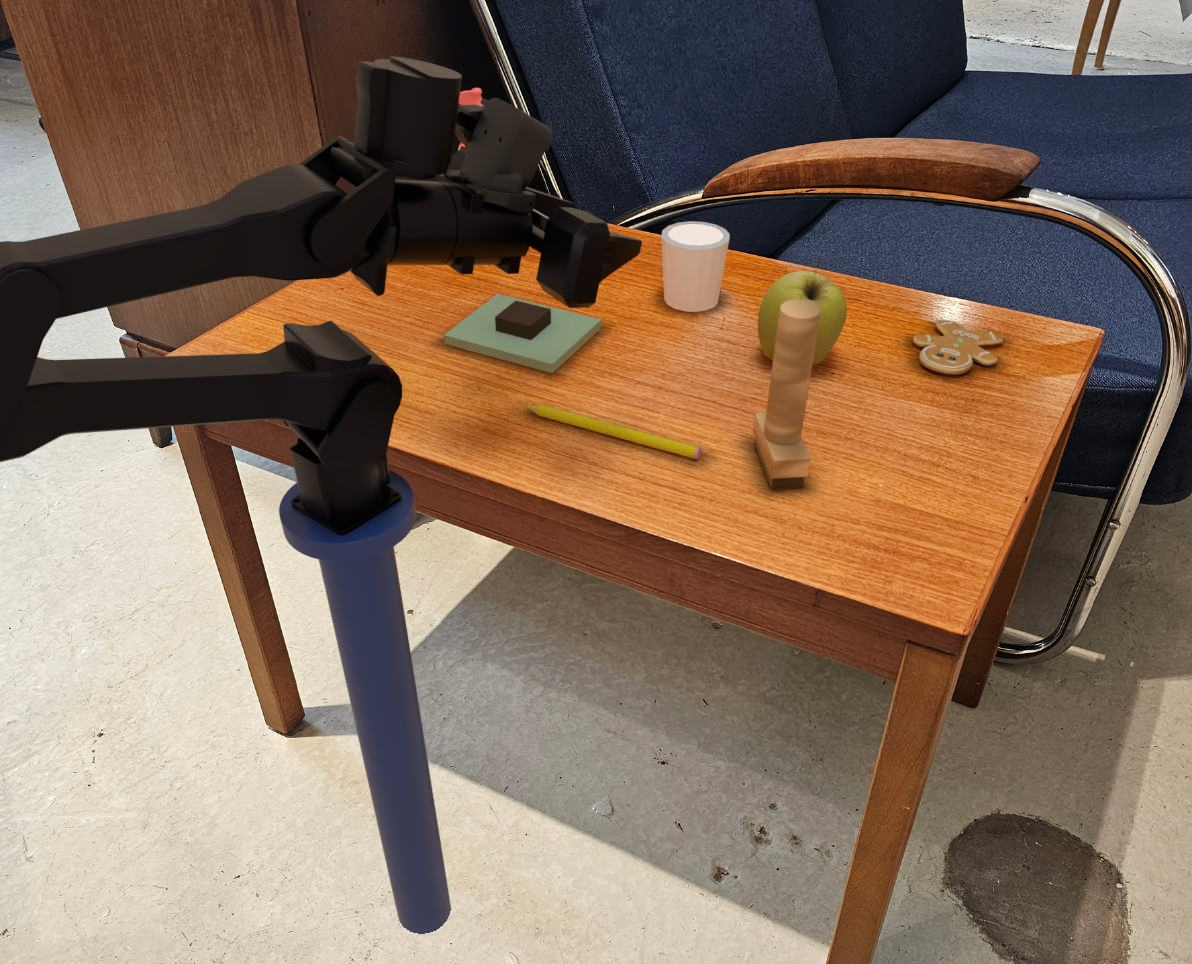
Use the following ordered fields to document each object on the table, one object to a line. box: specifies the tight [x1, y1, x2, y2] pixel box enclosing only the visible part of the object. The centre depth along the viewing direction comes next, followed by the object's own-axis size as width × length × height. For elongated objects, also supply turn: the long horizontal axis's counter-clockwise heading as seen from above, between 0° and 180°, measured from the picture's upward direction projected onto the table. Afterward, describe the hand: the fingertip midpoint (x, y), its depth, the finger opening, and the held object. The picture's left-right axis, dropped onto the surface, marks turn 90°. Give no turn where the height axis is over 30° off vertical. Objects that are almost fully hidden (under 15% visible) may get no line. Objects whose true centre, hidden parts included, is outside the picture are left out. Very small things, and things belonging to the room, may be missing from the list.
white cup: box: [660, 220, 731, 313], centre depth 107 cm, size 7×7×7 cm
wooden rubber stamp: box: [752, 300, 821, 490], centre depth 82 cm, size 3×7×14 cm, turn 6°
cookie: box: [912, 319, 1005, 376], centre depth 101 cm, size 8×1×10 cm
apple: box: [757, 260, 848, 367], centre depth 97 cm, size 8×8×10 cm
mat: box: [443, 293, 603, 374], centre depth 103 cm, size 10×12×1 cm
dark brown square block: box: [495, 301, 551, 340], centre depth 102 cm, size 4×4×2 cm
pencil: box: [525, 404, 702, 460], centre depth 90 cm, size 16×1×1 cm, turn 64°
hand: (605, 227), depth 85 cm, fingers open, 9 cm apart
